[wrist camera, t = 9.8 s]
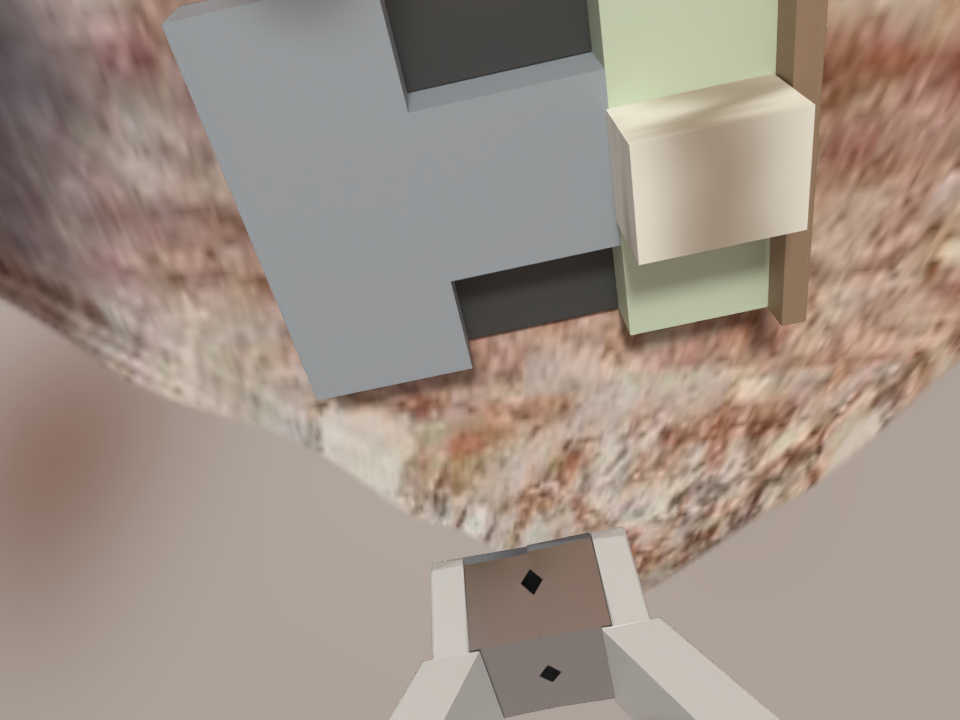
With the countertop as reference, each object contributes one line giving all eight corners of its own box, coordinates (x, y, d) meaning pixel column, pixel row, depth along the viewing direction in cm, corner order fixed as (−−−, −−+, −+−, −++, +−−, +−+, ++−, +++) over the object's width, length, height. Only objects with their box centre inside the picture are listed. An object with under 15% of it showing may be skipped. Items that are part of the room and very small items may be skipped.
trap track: (782, -134, 26) (836, -124, 23) (768, 273, 36) (805, 320, 32) (178, 6, 27) (149, 35, 24) (321, 367, 36) (314, 422, 33)
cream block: (772, 72, 28) (815, 104, 25) (768, 188, 30) (806, 229, 27) (605, 109, 28) (629, 145, 25) (616, 221, 31) (639, 265, 28)
